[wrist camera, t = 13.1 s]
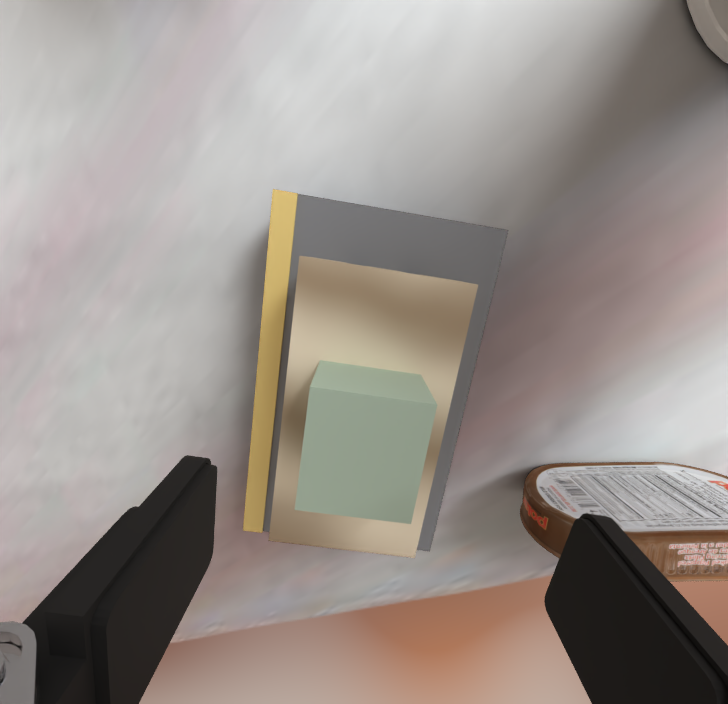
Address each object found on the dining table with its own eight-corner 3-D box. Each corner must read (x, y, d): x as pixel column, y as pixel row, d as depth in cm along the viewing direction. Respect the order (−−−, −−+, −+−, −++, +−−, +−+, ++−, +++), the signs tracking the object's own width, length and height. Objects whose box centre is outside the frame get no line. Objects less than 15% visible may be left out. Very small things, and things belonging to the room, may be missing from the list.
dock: (289, 202, 21) (272, 189, 17) (482, 235, 22) (509, 229, 18) (260, 489, 26) (242, 530, 22) (419, 509, 27) (430, 553, 23)
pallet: (312, 257, 18) (299, 255, 14) (453, 280, 19) (478, 284, 15) (284, 490, 22) (268, 540, 18) (404, 506, 22) (414, 558, 18)
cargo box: (320, 360, 15) (309, 386, 12) (420, 374, 16) (437, 404, 12) (307, 460, 17) (294, 510, 13) (400, 473, 17) (411, 524, 14)
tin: (500, 493, 27) (562, 595, 18) (503, 455, 26) (570, 544, 18) (697, 489, 27) (845, 588, 19) (707, 452, 26) (866, 538, 18)
